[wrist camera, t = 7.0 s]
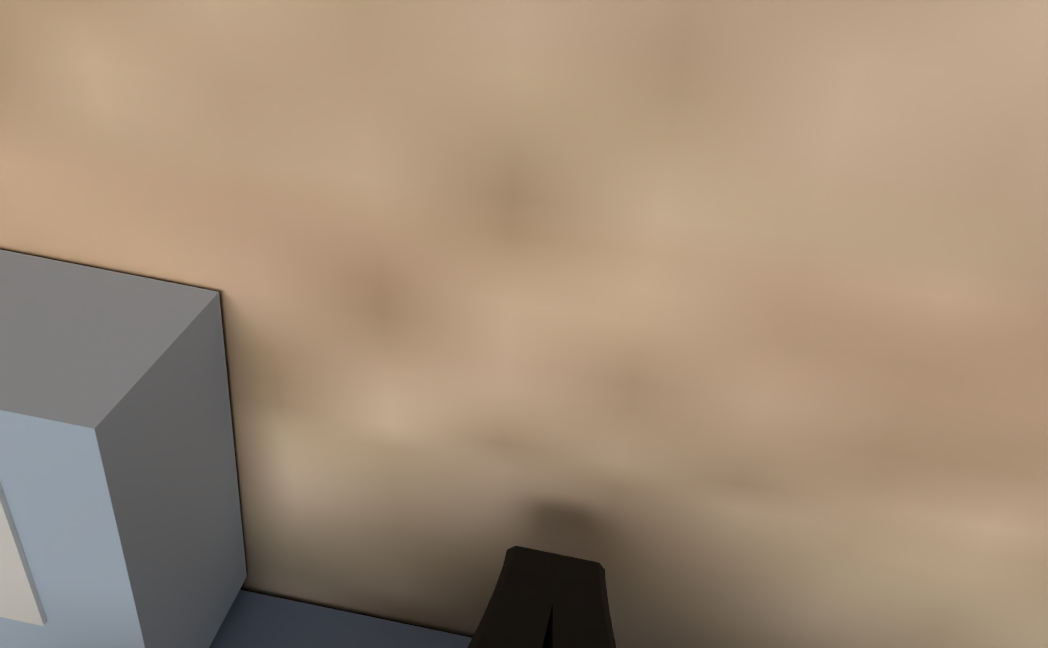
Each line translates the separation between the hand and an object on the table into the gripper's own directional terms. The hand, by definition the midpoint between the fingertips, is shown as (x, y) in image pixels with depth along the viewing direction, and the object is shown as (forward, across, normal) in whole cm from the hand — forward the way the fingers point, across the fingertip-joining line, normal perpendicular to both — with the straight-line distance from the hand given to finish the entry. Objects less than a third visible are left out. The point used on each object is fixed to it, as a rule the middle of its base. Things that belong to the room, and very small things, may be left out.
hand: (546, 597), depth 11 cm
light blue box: (+2, +8, 0) cm, 9 cm away
